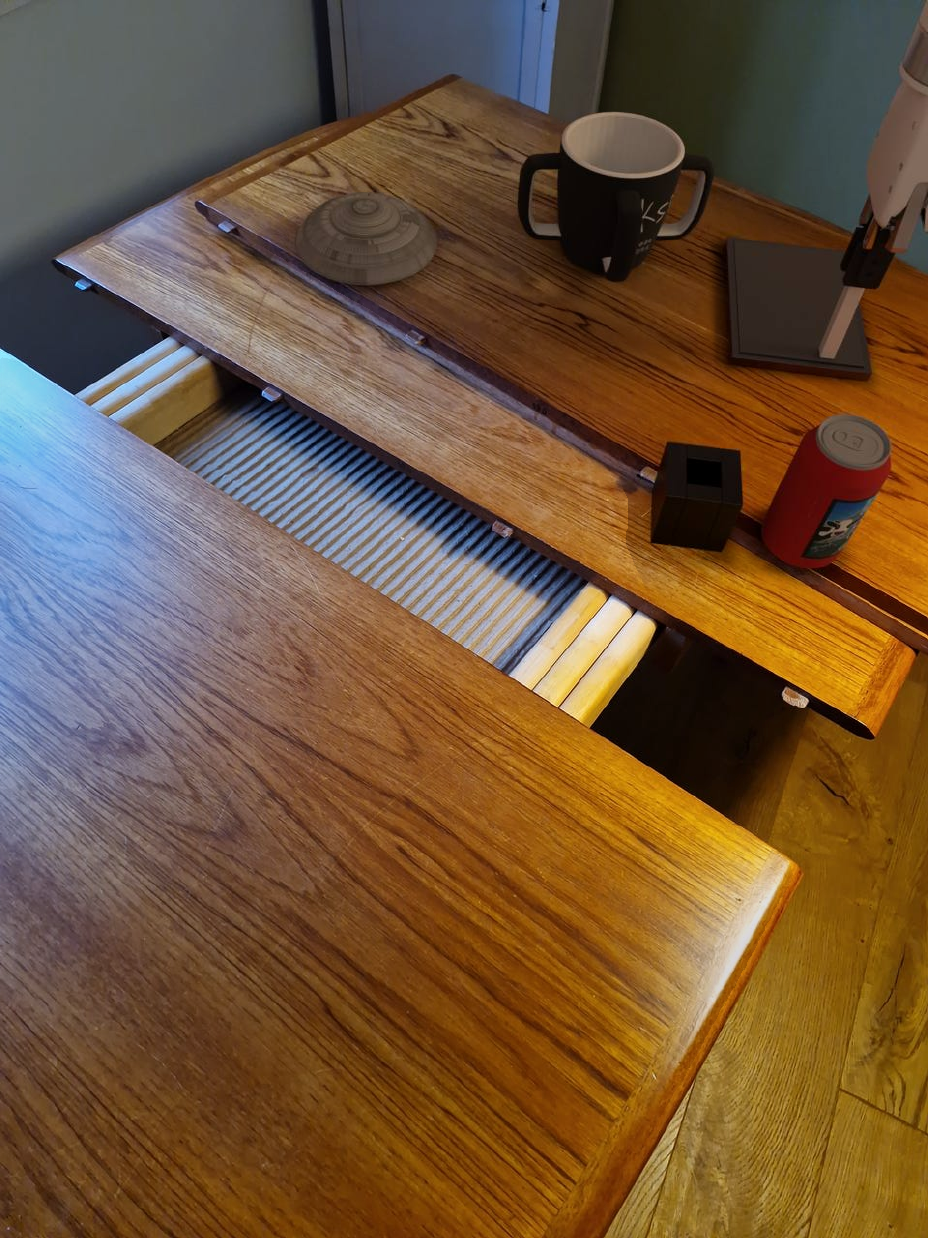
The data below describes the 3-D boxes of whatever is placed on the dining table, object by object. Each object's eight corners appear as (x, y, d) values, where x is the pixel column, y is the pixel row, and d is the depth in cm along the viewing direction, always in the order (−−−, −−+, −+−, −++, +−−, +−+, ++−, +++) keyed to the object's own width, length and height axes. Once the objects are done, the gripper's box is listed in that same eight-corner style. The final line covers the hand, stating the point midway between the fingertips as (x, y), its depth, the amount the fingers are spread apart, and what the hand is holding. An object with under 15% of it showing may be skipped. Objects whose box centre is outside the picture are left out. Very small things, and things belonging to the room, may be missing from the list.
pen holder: (720, 499, 78) (740, 450, 73) (722, 553, 74) (743, 505, 69) (651, 490, 78) (667, 440, 73) (650, 543, 75) (666, 495, 70)
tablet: (847, 259, 98) (851, 249, 97) (868, 381, 87) (873, 372, 86) (724, 245, 99) (727, 235, 98) (729, 364, 88) (732, 355, 87)
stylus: (832, 349, 88) (890, 216, 76) (834, 359, 87) (892, 225, 75) (818, 348, 88) (873, 214, 76) (819, 357, 87) (875, 224, 75)
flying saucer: (453, 226, 99) (454, 178, 94) (415, 308, 91) (415, 260, 86) (324, 202, 100) (319, 154, 96) (275, 281, 92) (268, 232, 88)
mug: (603, 319, 91) (625, 208, 81) (498, 244, 97) (506, 133, 87) (707, 260, 97) (740, 150, 87) (602, 193, 104) (621, 84, 94)
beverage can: (822, 587, 73) (886, 487, 63) (745, 551, 74) (794, 448, 65) (848, 533, 76) (912, 430, 66) (774, 500, 78) (825, 394, 68)
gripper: (1035, 118, 61) (911, 339, 76) (992, 15, 69) (889, 233, 85) (923, 105, 61) (822, 328, 76) (894, 5, 70) (809, 223, 85)
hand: (858, 277), depth 80 cm, fingers closed on stylus, 1 cm apart
